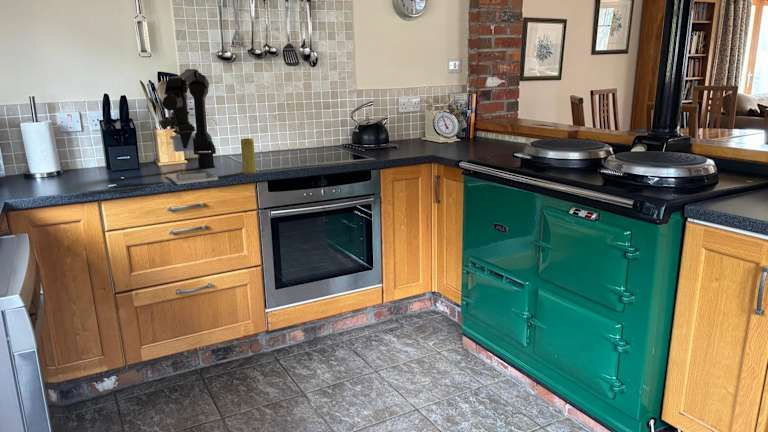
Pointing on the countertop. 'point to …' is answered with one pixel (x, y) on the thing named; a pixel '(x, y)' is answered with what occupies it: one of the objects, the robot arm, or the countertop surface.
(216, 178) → the chassis plate
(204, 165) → the robot arm
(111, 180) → the countertop surface
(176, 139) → the block
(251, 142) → the vase
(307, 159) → the countertop surface
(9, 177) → the countertop surface
